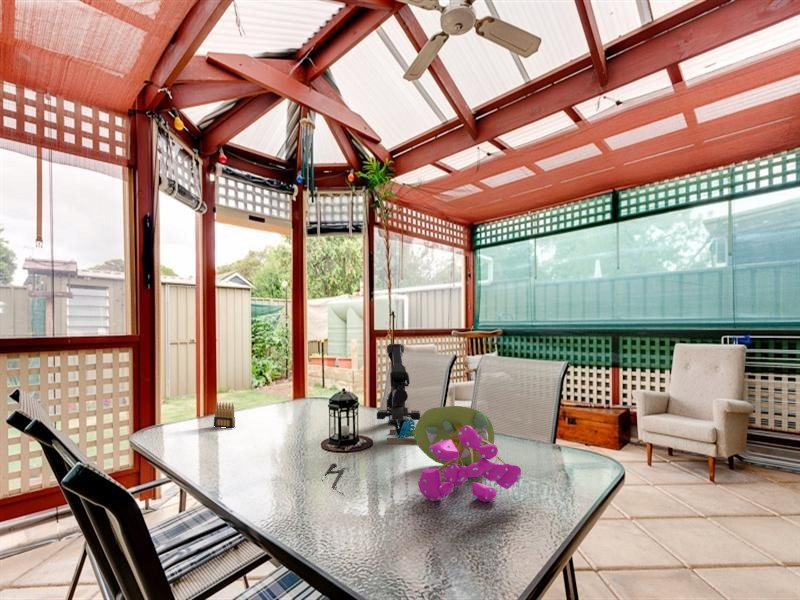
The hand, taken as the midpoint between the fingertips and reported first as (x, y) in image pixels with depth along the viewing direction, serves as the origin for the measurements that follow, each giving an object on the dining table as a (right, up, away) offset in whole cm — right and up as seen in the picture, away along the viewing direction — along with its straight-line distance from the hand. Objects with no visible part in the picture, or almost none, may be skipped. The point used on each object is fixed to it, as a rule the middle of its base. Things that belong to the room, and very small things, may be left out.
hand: (398, 434), depth 162 cm
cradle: (+5, -2, 0) cm, 5 cm away
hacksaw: (-20, 0, -43) cm, 47 cm away
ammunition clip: (-84, -3, +17) cm, 85 cm away
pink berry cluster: (+20, +1, -48) cm, 52 cm away
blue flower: (+3, -2, +2) cm, 4 cm away
